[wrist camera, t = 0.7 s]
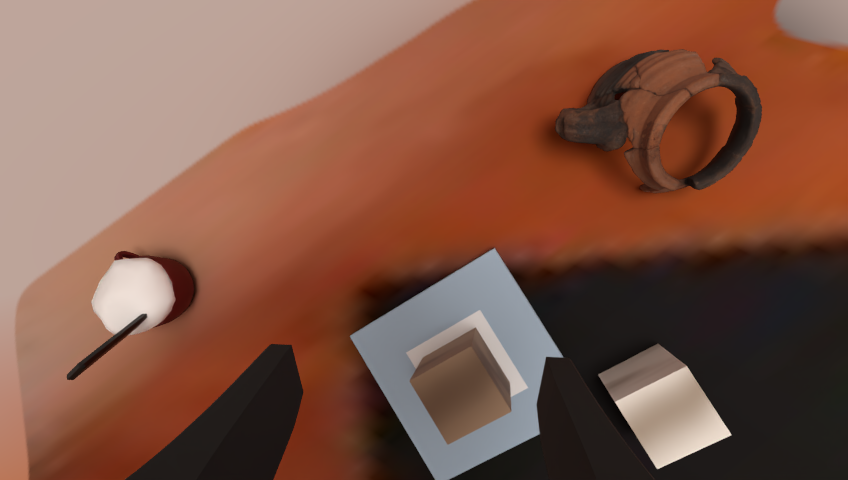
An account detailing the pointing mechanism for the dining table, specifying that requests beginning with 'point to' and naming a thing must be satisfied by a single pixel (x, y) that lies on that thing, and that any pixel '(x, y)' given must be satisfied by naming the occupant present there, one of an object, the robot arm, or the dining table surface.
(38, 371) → the dining table surface
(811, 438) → the dining table surface
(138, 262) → the cocoa
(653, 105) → the dark brown curved piece
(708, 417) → the ivory cube
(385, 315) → the blueprint board
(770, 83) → the dining table surface
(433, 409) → the walnut cube
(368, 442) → the dining table surface
